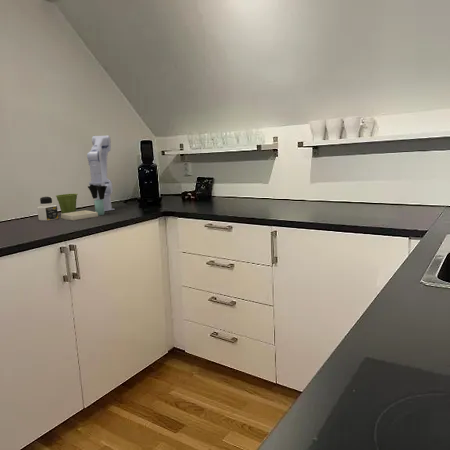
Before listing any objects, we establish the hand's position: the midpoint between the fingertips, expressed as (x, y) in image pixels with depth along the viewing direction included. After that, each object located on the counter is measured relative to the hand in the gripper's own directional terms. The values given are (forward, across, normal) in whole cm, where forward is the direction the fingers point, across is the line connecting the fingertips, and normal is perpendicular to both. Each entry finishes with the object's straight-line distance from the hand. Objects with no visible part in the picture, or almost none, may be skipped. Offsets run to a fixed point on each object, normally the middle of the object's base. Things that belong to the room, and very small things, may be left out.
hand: (98, 198), depth 243 cm
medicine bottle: (+9, -11, -24) cm, 28 cm away
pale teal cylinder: (+9, 0, 0) cm, 9 cm away
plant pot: (+9, -17, -10) cm, 22 cm away
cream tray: (+9, 0, -12) cm, 15 cm away
